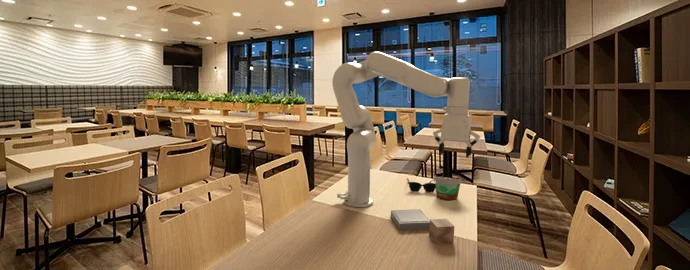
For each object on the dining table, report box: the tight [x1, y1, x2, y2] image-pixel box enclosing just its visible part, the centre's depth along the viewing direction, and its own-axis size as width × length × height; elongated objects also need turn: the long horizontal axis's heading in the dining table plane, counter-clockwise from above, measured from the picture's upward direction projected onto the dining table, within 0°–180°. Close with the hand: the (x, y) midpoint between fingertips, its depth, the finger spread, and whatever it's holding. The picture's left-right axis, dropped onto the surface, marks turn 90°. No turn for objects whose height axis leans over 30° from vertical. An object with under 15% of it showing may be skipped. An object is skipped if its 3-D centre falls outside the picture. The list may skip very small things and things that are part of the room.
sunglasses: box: [406, 178, 436, 193], centre depth 165 cm, size 14×16×5 cm
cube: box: [428, 218, 455, 245], centre depth 110 cm, size 6×6×6 cm
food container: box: [433, 174, 463, 202], centre depth 147 cm, size 12×6×10 cm, turn 62°
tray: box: [390, 208, 430, 231], centre depth 123 cm, size 12×12×3 cm
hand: (454, 155), depth 126 cm, fingers open, 9 cm apart
